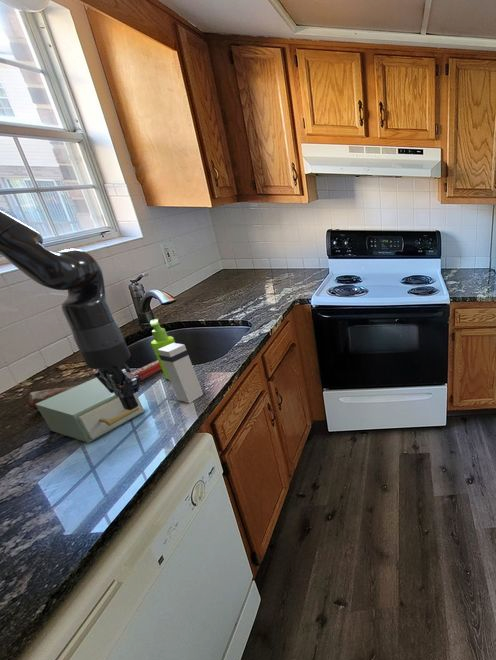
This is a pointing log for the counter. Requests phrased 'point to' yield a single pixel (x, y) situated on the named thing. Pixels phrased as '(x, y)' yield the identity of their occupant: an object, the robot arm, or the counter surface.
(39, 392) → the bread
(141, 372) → the candy bar
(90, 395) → the cabinet
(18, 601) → the counter surface
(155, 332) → the soap dispenser
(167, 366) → the white tall square block
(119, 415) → the drawer
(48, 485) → the counter surface
